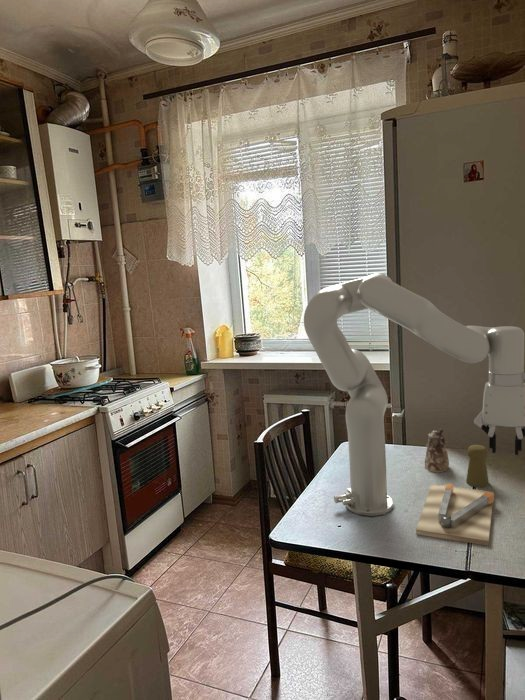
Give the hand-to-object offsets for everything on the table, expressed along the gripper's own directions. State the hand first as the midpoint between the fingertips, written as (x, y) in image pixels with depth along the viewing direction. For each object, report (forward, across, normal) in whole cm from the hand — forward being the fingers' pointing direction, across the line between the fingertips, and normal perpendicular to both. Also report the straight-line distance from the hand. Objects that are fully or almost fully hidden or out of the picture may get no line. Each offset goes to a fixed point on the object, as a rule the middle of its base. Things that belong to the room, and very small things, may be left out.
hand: (505, 451), depth 127 cm
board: (+17, +11, +2) cm, 21 cm away
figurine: (+18, +20, -27) cm, 38 cm away
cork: (+18, +8, -19) cm, 27 cm away
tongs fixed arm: (+16, +14, +1) cm, 21 cm away
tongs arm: (+16, +8, +3) cm, 18 cm away
